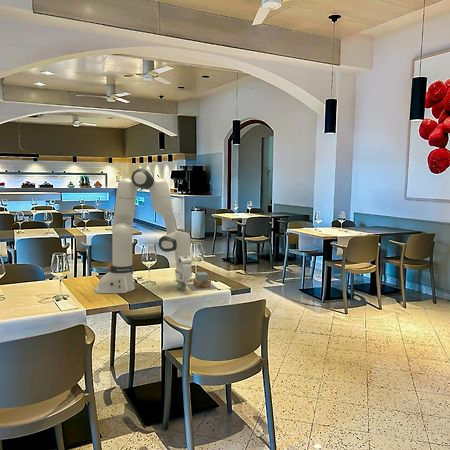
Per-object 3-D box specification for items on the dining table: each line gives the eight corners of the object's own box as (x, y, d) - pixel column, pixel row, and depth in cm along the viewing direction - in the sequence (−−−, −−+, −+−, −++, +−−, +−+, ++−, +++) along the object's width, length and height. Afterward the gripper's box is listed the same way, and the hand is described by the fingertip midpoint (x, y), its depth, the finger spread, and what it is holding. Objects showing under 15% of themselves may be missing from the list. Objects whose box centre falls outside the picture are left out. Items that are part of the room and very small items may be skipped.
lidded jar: (193, 280, 274) (193, 265, 273) (190, 284, 263) (190, 269, 262) (176, 279, 275) (177, 265, 274) (173, 283, 264) (173, 268, 263)
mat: (192, 292, 246) (192, 291, 246) (185, 285, 261) (185, 284, 261) (218, 290, 251) (218, 289, 251) (210, 283, 266) (210, 282, 266)
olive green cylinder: (178, 292, 245) (178, 284, 244) (176, 290, 250) (176, 282, 249) (187, 292, 247) (187, 283, 246) (184, 289, 251) (185, 281, 251)
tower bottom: (196, 288, 251) (197, 282, 251) (193, 285, 259) (193, 278, 258) (210, 287, 254) (210, 281, 253) (206, 284, 261) (206, 278, 261)
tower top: (198, 281, 252) (198, 274, 251) (195, 279, 257) (195, 272, 257) (208, 280, 254) (208, 274, 253) (205, 278, 259) (205, 271, 259)
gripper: (173, 254, 255) (173, 277, 256) (182, 261, 236) (182, 286, 237) (183, 253, 257) (184, 276, 259) (193, 260, 238) (193, 285, 240)
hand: (183, 281), depth 248 cm, fingers open, 8 cm apart
